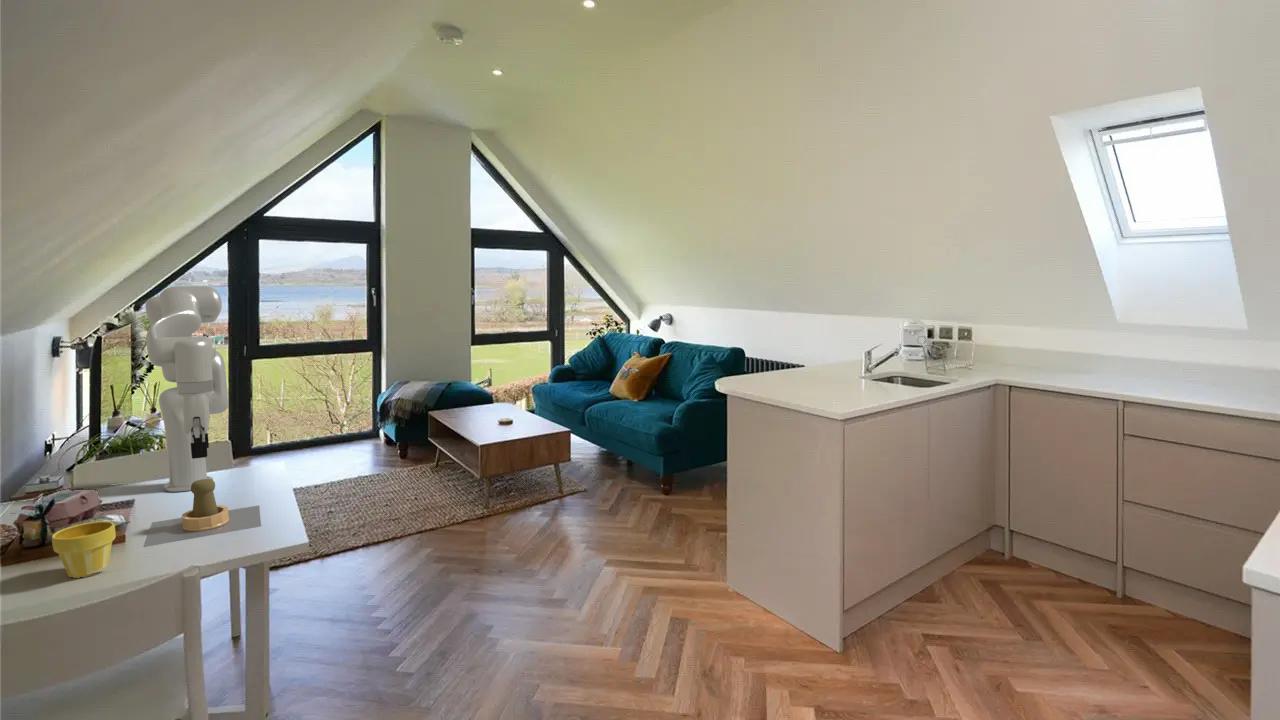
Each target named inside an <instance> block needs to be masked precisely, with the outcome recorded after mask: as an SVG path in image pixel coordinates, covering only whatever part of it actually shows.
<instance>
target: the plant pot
mask: <svg viewBox="0 0 1280 720" xmlns="http://www.w3.org/2000/svg"><path fill="white" fill-rule="evenodd" d="M116 535H117V533H116V524H115V522H112V521H106V520H102V521H101V520H99V521H90V522H84V523H80V524H74V525H71V526H68V527H66V528H62V529H61V530H58V531H56V532H54V533H53V534H52V536H51V544H52V548H53V552H54V553H57V554H58V556H59V558H60V560H61V562H62V565H63V567H64V569H65V571H66V574H67V575H68V577H69V578H71V577H73V578H72V579H81V578H80V577H83V578H88V577H92V576H95V574H96V575H98V574H101V573H103V572H102V571H103V568H106V567H107V566H108V565H109V564H110V560H111V558H110V557H111V552H112V544H113V542H114V540H115V539H116V537H117V536H116ZM99 570H101V571H99ZM100 572H101V573H100Z"/></svg>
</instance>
